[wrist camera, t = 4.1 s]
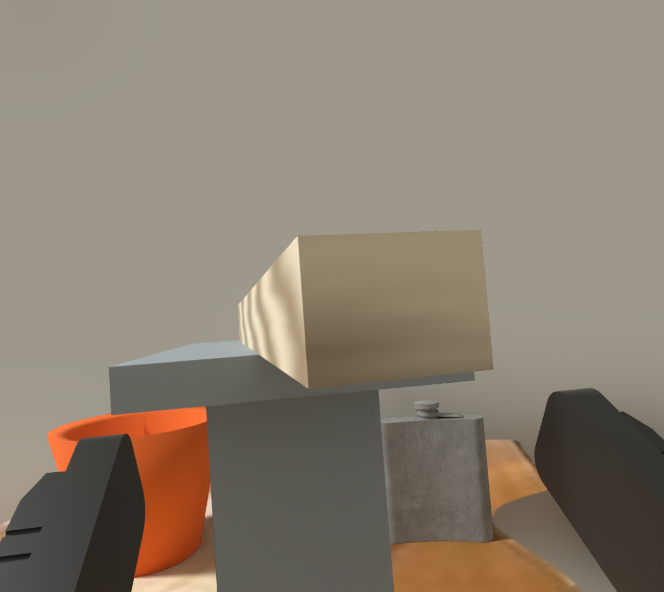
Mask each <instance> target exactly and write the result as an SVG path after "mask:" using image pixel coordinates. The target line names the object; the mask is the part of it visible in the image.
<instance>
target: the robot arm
mask: <svg viewBox="0 0 664 592" xmlns="http://www.w3.org/2000/svg"><path fill="white" fill-rule="evenodd" d="M535 464H536V468H537V471H538V474H539V476H540V478H541V480H542V482H543V483H544V485H545V486H546V488H547V489H548V490H549V492H550V493H551V495H552V496H553V498H554V499H555V501H556V502H557V504H558V505H559V507H560V508H561V510H562V511H563V513H564V514H565V515H566V517H567V518H568V520H569V521H570V523H571V524H572V526H573V527H574V529H575V530H576V532H577V533H578V535H579V536H580V538H581V539H582V540H583V542H584V544H585V545H586V546H587V548H588V549H589V551H590V552H591V554H592V555H593V557H594V558H595V559H596V561H597V562H598V564H599V565H600V567H601V568H602V570H603V572H604V573H605V574H606V576H607V577H608V579H609V580H610V582H611V583H612V585H613V586H614V588H615V589H616V591H617V592H664V440H663V439H662V438H661V437H660V436H659V435H658V434H657V433H656V432H655V431H654V430H653V429H652V428H650V427H648V426H647V425H645V424H643V423H641V422H640V421H638V420H637V419H635V418H633V417H632V416H630V415H628V414H627V413H625V412H619V411H618V410H617V409H616V408H615V407H614V406H613V405H612V404H611V403H610V402H609V401H608V400H607V399H606V398H605V397H604V396H603V395H602V394H601V393H599V391H597V390H595V389H592V388H587V389H576V390H567V391H557V392H553V393H552V394H551V395H550V396H549V398H548V401H547V405H546V408H545V412H544V416H543V420H542V424H541V427H540V431H539V435H538V439H537V442H536V446H535ZM144 525H145V497H144V491H143V487H142V483H141V479H140V474H139V470H138V466H137V462H136V458H135V453H134V449H133V445H132V441H131V438H130V436H129V435H128V434H117V435H107V436H97V437H87V438H82V439H80V440H79V441H78V443H77V445H76V447H75V449H74V452H73V454H72V457H71V459H70V462H69V464H68V466H67V469H66V471H62V472H53V473H46V475H44V476H43V477H42V479H40V481H39V482H38V483H37V484H36V485H35V486H34V487H33V488H32V489H31V490H30V491H29V492H28V493H27V494H26V495H25V496H24V497H23V498H22V499H21V501H20V503H19V505H18V507H17V509H16V511H15V513H14V515H13V517H12V519H11V521H10V523H9V525H8V527H7V529H6V536H5V537H2V539H1V542H0V592H131V590H132V586H133V581H134V576H135V571H136V566H137V561H138V556H139V551H140V546H141V542H142V537H143V532H144Z"/></svg>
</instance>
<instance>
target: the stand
mask: <svg viewBox="0 0 664 592" xmlns="http://www.w3.org/2000/svg"><path fill="white" fill-rule="evenodd" d="M109 378H110V398H111V415H119V414H129V413H140V412H150V411H161V410H171V409H181V408H192V407H202V406H206V416H207V433H208V449H209V465H210V482H211V498H212V515H213V531H214V547H215V564H216V580H217V592H394V586H393V574H392V561H391V548H390V535H389V522H388V509H387V496H386V483H385V470H384V457H383V444H382V432H381V419H380V406H379V393H378V390H379V389H390V388H400V387H411V386H421V385H431V384H442V383H452V382H462V381H473V380H475V378H474V371H473V372H464V373H454V374H445V375H436V376H426V377H417V378H407V379H398V380H388V381H379V382H369V383H360V384H350V385H341V386H331V387H322V388H313V389H308V388H306V387H305V386H304V385H302V384H301V383H299V382H298V381H296V380H295V379H293V378H292V377H291V376H289V375H288V374H286V373H285V372H283V371H282V370H280V369H279V368H278V367H276V366H275V365H273V364H272V363H270V362H269V361H267V360H266V359H265V358H263V357H262V356H260V355H259V354H257V353H256V352H254V351H253V350H252V349H250V348H249V347H247V346H246V345H244V344H243V343H241V342H240V340H236V341H224V342H212V343H198V344H189V345H186V346H183V347H179V348H175V349H172V350H168V351H165V352H161V353H157V354H154V355H150V356H147V357H143V358H140V359H136V360H132V361H129V362H125V363H122V364H118V365H115V366H111V367H109Z"/></svg>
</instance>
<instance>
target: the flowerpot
mask: <svg viewBox="0 0 664 592" xmlns="http://www.w3.org/2000/svg"><path fill="white" fill-rule="evenodd" d="M117 434H128V435H129V436H130V438H131V441H132V445H133V449H134V453H135V458H136V462H137V466H138V470H139V474H140V479H141V483H142V487H143V491H144V497H145V525H144V532H143V537H142V542H141V546H140V551H139V556H138V561H137V566H136V571H135V576H134V577H138V576H144V575H148V574H152V573H156V572H159V571H161V570H164V569H167V568H169V567H172V566H174V565H176V564H178V563H180V562H182V561H183V560H185V559H187V558H188V557H189V556H191V555H192V554H193V553H194V552H195V551H196V550H197V549H198V547H199V546H200V543H201V537H202V531H203V524H204V518H205V512H206V506H207V500H208V494H209V487H210V465H209V449H208V433H207V416H206V406H202V407H192V408H181V409H171V410H161V411H150V412H140V413H129V414H119V415H111V414H107V415H101V416H97V417H92V418H87V419H84V420H80V421H76V422H72V423H69V424H66V425H63V426H60V427H58V428H56V429H54V430H52V431H50V432H49V433H48V434H47V438H48V440H49V444H50V447H51V450H52V453H53V456H54V460H55V463H56V466H57V469H58V472H62V471H66V469H67V466H68V464H69V462H70V459H71V457H72V454H73V452H74V449H75V447H76V445H77V443H78V441H79V440H80V439H82V438H87V437H97V436H107V435H117Z"/></svg>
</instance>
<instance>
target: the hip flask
mask: <svg viewBox="0 0 664 592" xmlns="http://www.w3.org/2000/svg"><path fill="white" fill-rule="evenodd" d="M438 407H439V402H438V401H435V400H422V401H416V402H415V408H416V409H418V410H417V415H418V416H413V417H398V418H386V419H381V432H382V444H383V457H384V470H385V483H386V496H387V509H388V522H389V535H390V544H400V543H409V542H425V541H467V542H483V543H485V542H490V541H492V540H493V526H492V515H491V503H490V492H489V480H488V469H487V457H486V446H485V435H484V423H483V416H481V415H462V414H460V413H438V410H437V409H436V408H438Z"/></svg>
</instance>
